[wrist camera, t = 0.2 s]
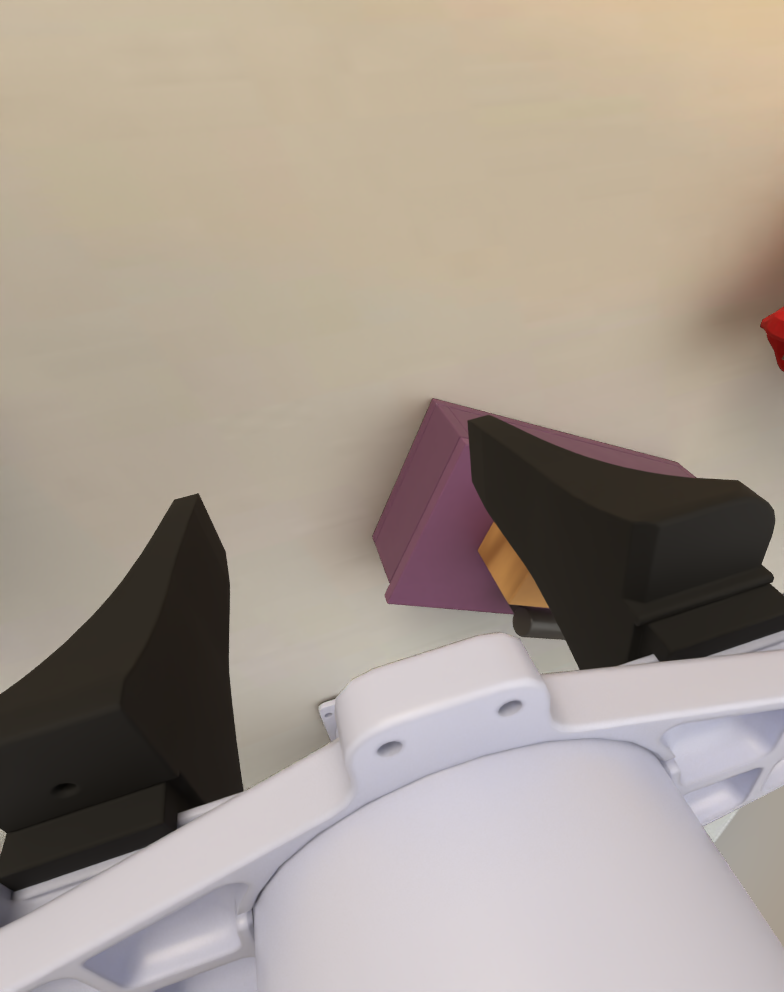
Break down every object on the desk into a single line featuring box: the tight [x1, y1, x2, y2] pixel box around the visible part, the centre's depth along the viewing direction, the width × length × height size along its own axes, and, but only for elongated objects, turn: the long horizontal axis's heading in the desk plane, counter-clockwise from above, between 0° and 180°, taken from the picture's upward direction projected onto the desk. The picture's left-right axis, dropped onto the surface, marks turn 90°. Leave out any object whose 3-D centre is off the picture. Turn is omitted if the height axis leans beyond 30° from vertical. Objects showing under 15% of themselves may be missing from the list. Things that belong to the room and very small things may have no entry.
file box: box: [372, 398, 696, 583], centre depth 29 cm, size 8×16×4 cm, turn 67°
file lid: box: [385, 437, 565, 640], centre depth 26 cm, size 9×16×4 cm, turn 67°
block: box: [478, 522, 549, 608], centre depth 24 cm, size 4×5×4 cm
